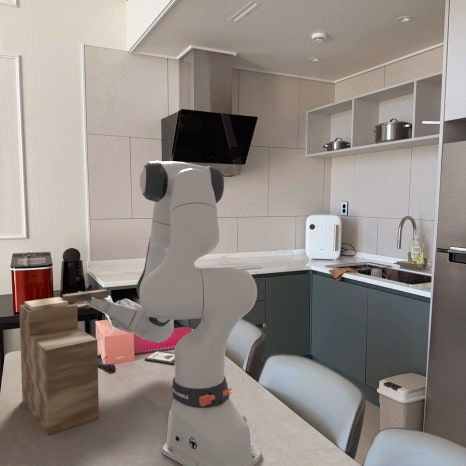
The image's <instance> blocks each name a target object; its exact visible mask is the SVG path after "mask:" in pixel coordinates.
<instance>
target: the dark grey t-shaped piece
mask: <svg viewBox="0 0 466 466" xmlns="http://www.w3.org/2000/svg"><path fill="white" fill-rule="evenodd" d="M101 354H102V353H98V368H100V369H103V370H105V371H108V372H111V373H114V372H116V369H117V367H116V365H115V364H114V363H111V364H110V363H109V364H107V363H103V361H102V358H101Z"/></svg>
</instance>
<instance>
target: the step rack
mask: <svg viewBox="0 0 466 466" xmlns="http://www.w3.org/2000/svg"><path fill="white" fill-rule="evenodd" d="M18 309H19V310H18V311H19V334H20V336H19V337H20V360H21V361H20V362H21V363H20V365H21V393H22V398H21V399H22V400H21V401H22V402H23V404H24V405H25V406H26V408H27V409H28V410H29V412H30V413H31V415H32V416H33V417H34V418H35V420H36V421H37V422H38V423H39V425H40V426H41V427H42V429H43V430H44V431H45V433H46V435H47V436H51V435H54V434H57V433H60V432H63V431H66V430H69V429H72V428H76V427H79V426H82V425H85V424H89V423H92V422H94V421H97V420H99V419H100V406H99V405H100V404H99V403H100V401H99V400H100V399H99V367H98V355H99V353H98V350H99V348H98V347H99V346H98V339H97V338H96V337H94V336H93V335H92V334H89V333H88V332H86V331H84V330H83V329H81V328H79V326H78V325H79V323H78V322H79V320H78V319H79V318H78V317H79V316H78V304H77V303H75V302H74V303H68V306H61V307H54V308H47V309H41V310H34V311H32V310H30V309H29V308H27V307H26V306H25V305H24V304H20V305H19V307H18Z"/></svg>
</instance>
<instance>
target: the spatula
mask: <svg viewBox="0 0 466 466" xmlns="http://www.w3.org/2000/svg"><path fill="white" fill-rule="evenodd" d="M78 292H79V291H78ZM78 292H73V293H65V294H62V295H61V296H56V297H48V298H42V299H34V300H26V301H24V303H23V305H25V306H26V307H27V308H29V309H30V310H32V311H34V310H41V309H47V308H54V307H61V306H68V303H74V304H75V303H80V302H84V301H88V300H90V299H91V297H94V298H96V299H102V298H105V299H108V298H109V290H107V289H105V288H104V289H95V290H88V291H81V292H79V293H78Z"/></svg>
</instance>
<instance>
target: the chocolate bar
mask: <svg viewBox="0 0 466 466" xmlns="http://www.w3.org/2000/svg"><path fill="white" fill-rule="evenodd" d="M144 361H146V362H151V363H157V364H165V365H170V366H175V352H172V351H164V350H157V351H155V352H154V353H152V354H150V355H149V356H147V357H146V358H144Z"/></svg>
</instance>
